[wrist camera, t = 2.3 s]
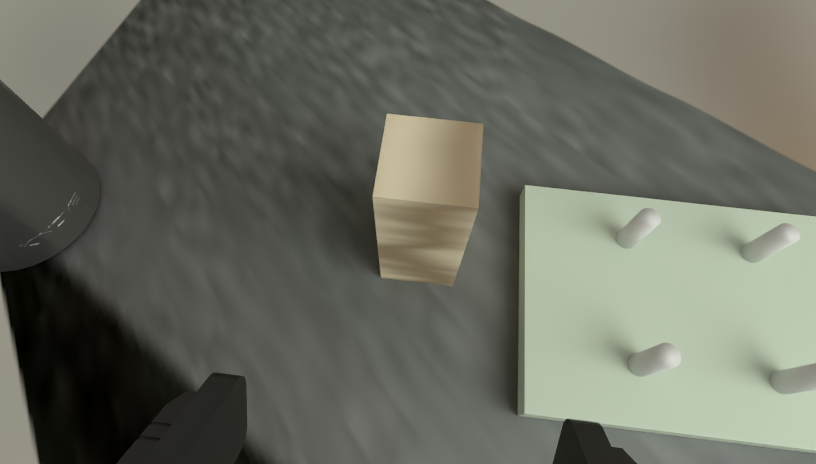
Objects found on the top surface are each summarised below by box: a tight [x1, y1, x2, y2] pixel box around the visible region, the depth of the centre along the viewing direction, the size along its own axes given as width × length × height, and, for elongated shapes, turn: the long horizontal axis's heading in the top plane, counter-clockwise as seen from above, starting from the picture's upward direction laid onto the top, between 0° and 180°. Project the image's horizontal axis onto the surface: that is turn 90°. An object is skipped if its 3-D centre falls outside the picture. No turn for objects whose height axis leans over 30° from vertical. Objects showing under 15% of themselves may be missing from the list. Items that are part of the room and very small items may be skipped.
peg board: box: [518, 185, 816, 453], centre depth 25 cm, size 20×14×4 cm
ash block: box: [373, 114, 483, 286], centre depth 24 cm, size 4×4×10 cm
